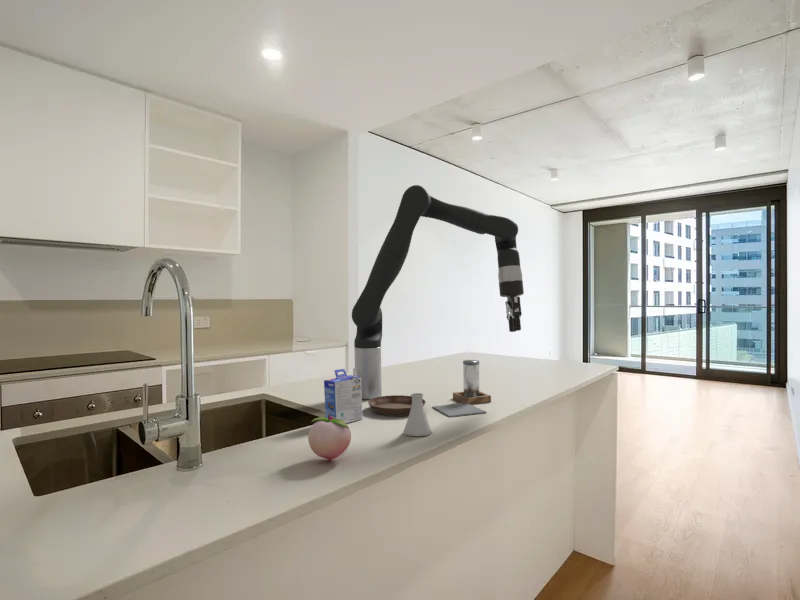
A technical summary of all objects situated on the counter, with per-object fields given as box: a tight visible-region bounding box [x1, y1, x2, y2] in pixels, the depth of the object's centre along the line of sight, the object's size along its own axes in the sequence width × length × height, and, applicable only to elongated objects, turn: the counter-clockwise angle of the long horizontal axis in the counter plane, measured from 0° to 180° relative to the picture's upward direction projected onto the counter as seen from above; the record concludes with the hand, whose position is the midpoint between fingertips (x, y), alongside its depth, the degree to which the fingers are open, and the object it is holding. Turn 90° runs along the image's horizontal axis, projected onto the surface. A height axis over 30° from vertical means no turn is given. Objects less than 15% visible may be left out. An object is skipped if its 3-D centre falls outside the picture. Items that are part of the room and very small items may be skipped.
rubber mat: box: [432, 402, 487, 418], centre depth 140 cm, size 12×12×1 cm
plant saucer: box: [367, 394, 427, 417], centre depth 141 cm, size 18×18×3 cm
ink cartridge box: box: [323, 368, 363, 424], centre depth 129 cm, size 10×6×14 cm, turn 137°
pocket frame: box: [452, 390, 492, 405], centre depth 152 cm, size 9×9×2 cm
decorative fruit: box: [307, 414, 352, 461], centre depth 99 cm, size 9×8×10 cm
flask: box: [403, 392, 432, 437], centre depth 118 cm, size 7×7×10 cm
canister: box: [462, 359, 480, 397], centre depth 152 cm, size 5×5×13 cm
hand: (515, 331), depth 147 cm, fingers open, 8 cm apart
